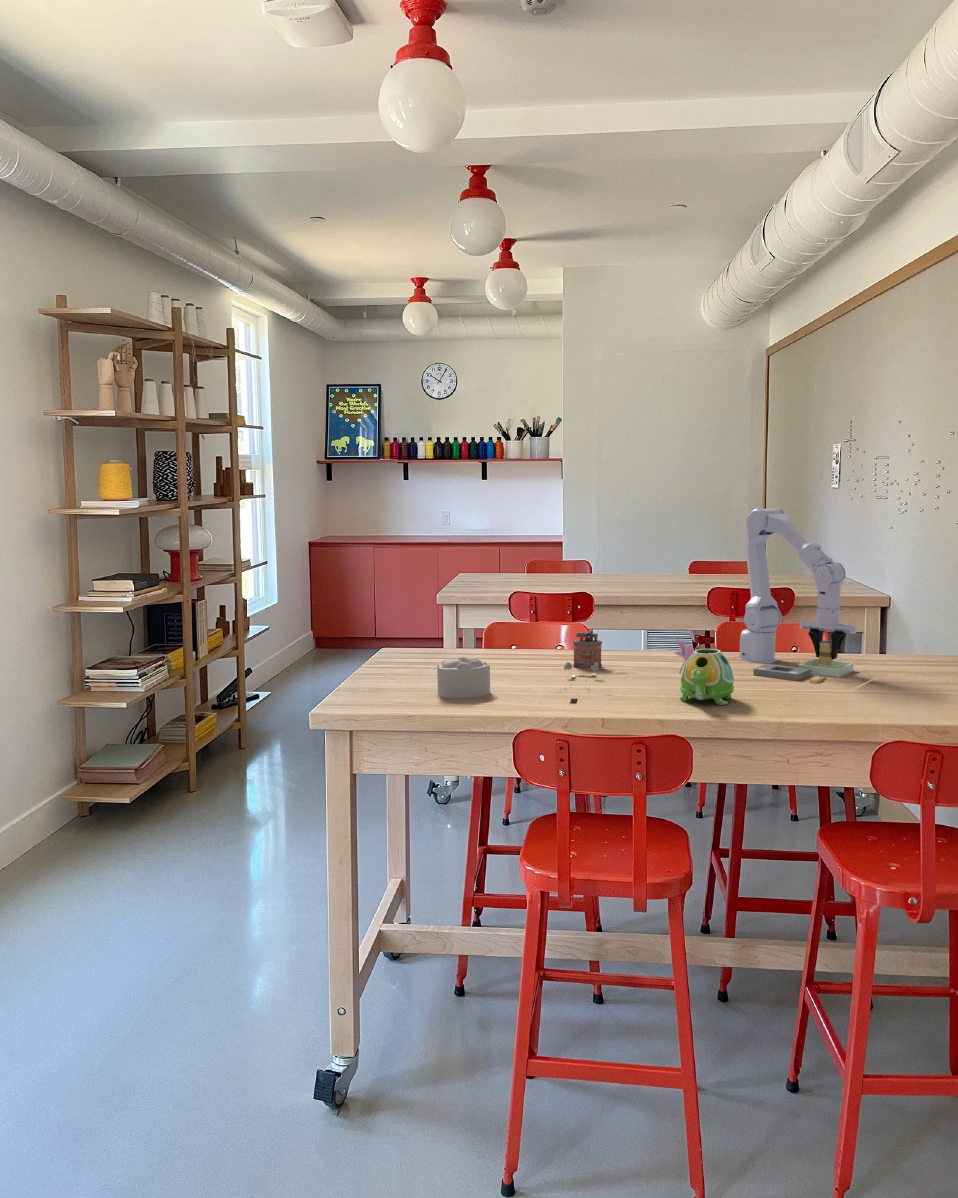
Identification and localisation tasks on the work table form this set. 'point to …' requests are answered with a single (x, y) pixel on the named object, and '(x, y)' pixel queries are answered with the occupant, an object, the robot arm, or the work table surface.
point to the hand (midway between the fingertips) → (826, 657)
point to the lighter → (587, 650)
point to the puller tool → (817, 679)
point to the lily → (684, 651)
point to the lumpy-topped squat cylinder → (463, 678)
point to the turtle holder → (707, 677)
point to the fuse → (825, 654)
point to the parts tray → (836, 671)
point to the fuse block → (782, 672)
